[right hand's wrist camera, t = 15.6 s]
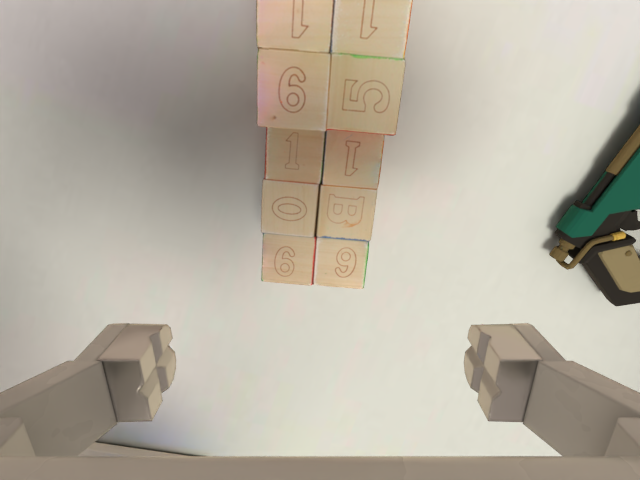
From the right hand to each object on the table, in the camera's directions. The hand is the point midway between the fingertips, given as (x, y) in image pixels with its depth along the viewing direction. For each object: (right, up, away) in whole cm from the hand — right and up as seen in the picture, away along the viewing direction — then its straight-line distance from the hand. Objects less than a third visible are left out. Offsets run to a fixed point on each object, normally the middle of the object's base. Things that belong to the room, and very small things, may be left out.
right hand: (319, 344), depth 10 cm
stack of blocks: (0, +13, +17) cm, 21 cm away
